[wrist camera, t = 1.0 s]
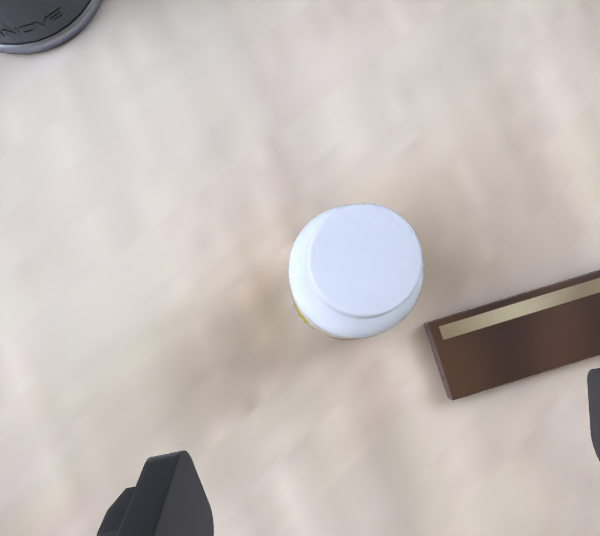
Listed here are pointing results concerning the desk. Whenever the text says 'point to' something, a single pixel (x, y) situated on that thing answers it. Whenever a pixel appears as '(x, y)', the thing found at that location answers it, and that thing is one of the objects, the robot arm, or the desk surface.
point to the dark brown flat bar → (517, 336)
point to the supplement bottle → (355, 271)
